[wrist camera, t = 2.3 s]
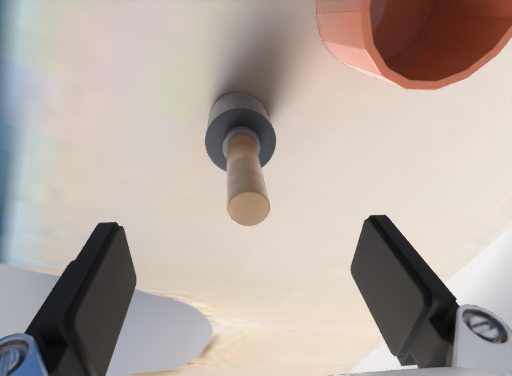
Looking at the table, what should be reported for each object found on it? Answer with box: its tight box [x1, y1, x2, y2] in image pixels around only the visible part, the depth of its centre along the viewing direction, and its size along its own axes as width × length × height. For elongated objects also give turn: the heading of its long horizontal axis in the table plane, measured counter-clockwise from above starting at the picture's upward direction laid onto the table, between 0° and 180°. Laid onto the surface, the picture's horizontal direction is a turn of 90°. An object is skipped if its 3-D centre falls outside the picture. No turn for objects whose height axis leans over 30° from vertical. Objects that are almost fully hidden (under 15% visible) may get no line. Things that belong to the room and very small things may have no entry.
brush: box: [205, 92, 276, 226], centre depth 18 cm, size 5×5×13 cm
